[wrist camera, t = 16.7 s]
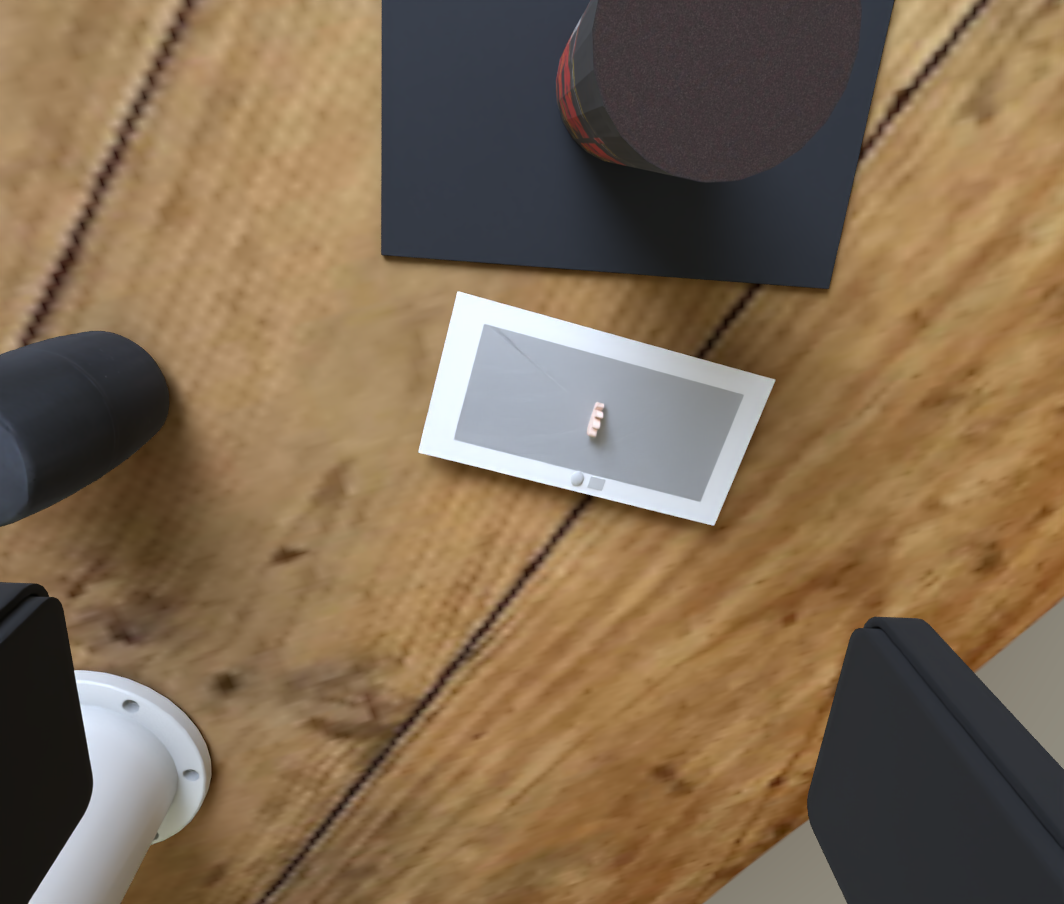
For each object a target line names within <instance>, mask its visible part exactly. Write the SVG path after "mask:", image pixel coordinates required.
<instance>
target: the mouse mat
mask: <svg viewBox="0 0 1064 904" xmlns="http://www.w3.org/2000/svg"><path fill="white" fill-rule="evenodd" d="M589 2H590V0H382V192H381V254H382V255H387V256H400V257H414V258H427V259H440V260H453V261H466V262H480V263H493V264H506V265H519V266H532V267H545V268H559V269H572V270H585V271H598V272H611V273H625V274H638V275H651V276H664V277H677V278H690V279H704V280H717V281H730V282H743V283H756V284H770V285H783V286H796V287H809V288H822V289H829V286H830V281H831V277H832V273H833V268H834V264H835V259H836V255H837V251H838V246H839V242H840V237H841V233H842V229H843V224H844V220H845V215H846V211H847V207H848V202H849V198H850V193H851V189H852V185H853V180H854V176H855V171H856V167H857V163H858V158H859V154H860V149H861V145H862V141H863V136H864V132H865V127H866V123H867V119H868V114H869V110H870V105H871V101H872V97H873V92H874V88H875V83H876V79H877V75H878V70H879V66H880V61H881V57H882V52H883V48H884V44H885V39H886V35H887V30H888V26H889V22H890V17H891V13H892V8H893V4H894V0H861V7H862V16H861V28H860V39H859V50H858V53H857V57H856V60H855V63H854V66H853V69H852V72H851V75H850V78H849V81H848V84H847V88H846V90H845V91H844V93H843V95H842V96H841V98H840V100H839V102H838V103H837V105H836V107H835V108H834V110H833V112H832V114H831V115H830V117H829V119H828V120H827V122H826V123H825V124H824V125H823V126H822V127H821V128H820V130H819V131H818V132H817V133H816V134H815V135H814V136H813V137H812V138H811V139H810V140H809V141H808V142H807V143H806V144H805V146H804V147H803V148H802V149H801V150H799V151H798V152H796V153H795V154H793V155H792V156H790V157H789V158H787V159H786V160H784V161H783V162H781V163H780V164H778V165H776V166H775V167H773V168H772V169H770V170H767V171H764V172H761V173H759V174H756V175H753V176H750V177H747V178H744V179H742V180H739V181H725V182H711V183H704V182H700V181H695V180H690V179H686V178H681V177H676V176H671V175H667V174H662V173H657V172H653V171H648V170H643V169H639V168H634V167H629V166H625V165H620V164H615V163H611V162H606V161H602V160H600V159H599V158H597V157H595V156H593V155H591V154H589V153H587V152H586V151H585V150H584V149H583V148H582V147H581V146H580V145H579V144H578V143H577V142H576V141H575V140H574V139H573V138H572V136H571V135H570V133H569V131H568V130H567V128H566V126H565V125H564V123H563V121H562V118H561V114H560V111H559V108H558V104H557V95H556V77H557V72H558V67H559V61H560V58H561V56H562V54H563V52H564V49H565V47H566V45H567V43H568V40H569V39H570V37H571V35H572V33H573V31H574V29H575V28H576V26H577V24H578V22H579V20H580V19H581V17H582V15H583V13H584V11H585V9H586V8H587V6H588V4H589Z"/></svg>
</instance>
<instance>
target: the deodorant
mask: <svg viewBox="0 0 1064 904" xmlns="http://www.w3.org/2000/svg"><path fill="white" fill-rule="evenodd" d="M861 16H862V7H861V0H590V2H589V4H588V6H587V8H586V9H585V11H584V13H583V15H582V17H581V19H580V20H579V22H578V24H577V26H576V28H575V29H574V31H573V33H572V35H571V37H570V39H569V40H568V43H567V45H566V47H565V49H564V52H563V54H562V56H561V58H560V61H559V67H558V72H557V77H556V95H557V104H558V108H559V111H560V114H561V118H562V121H563V123H564V125H565V126H566V128H567V130H568V131H569V133H570V135H571V136H572V138H573V139H574V140H575V141H576V142H577V143H578V144H579V145H580V146H581V147H582V148H583V149H584V150H585V151H586V152H587V153H589V154H591V155H593V156H595V157H597V158H599V159H600V160H602V161H606V162H611V163H615V164H620V165H625V166H629V167H634V168H639V169H643V170H648V171H653V172H657V173H662V174H667V175H671V176H676V177H681V178H686V179H690V180H695V181H700V182H704V183H711V182H725V181H739V180H742V179H744V178H747V177H750V176H753V175H756V174H759V173H761V172H764V171H767V170H770V169H772V168H773V167H775V166H776V165H778V164H780V163H781V162H783V161H784V160H786V159H787V158H789V157H790V156H792V155H793V154H795V153H796V152H798V151H799V150H801V149H802V148H803V147H804V146H805V144H806V143H807V142H808V141H809V140H810V139H811V138H812V137H813V136H814V135H815V134H816V133H817V132H818V131H819V130H820V128H821V127H822V126H823V125H824V124H825V123H826V122H827V120H828V119H829V117H830V115H831V114H832V112H833V110H834V108H835V107H836V105H837V103H838V102H839V100H840V98H841V96H842V95H843V93H844V91H845V90H846V88H847V84H848V81H849V78H850V75H851V72H852V69H853V66H854V63H855V60H856V57H857V53H858V50H859V39H860V28H861Z"/></svg>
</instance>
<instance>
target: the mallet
mask: <svg viewBox="0 0 1064 904" xmlns="http://www.w3.org/2000/svg"><path fill="white" fill-rule="evenodd" d="M168 410H169V392H168V387H167V384H166V381H165V378H164V376H163V374H162V372H161V370H160V368H159V367H158V365H157V364H156V362H155V361H154V360H153V359H152V357H151V356H150V355H149V354H148V353H147V352H146V351H145V350H144V349H142V348H141V347H140V346H139V345H137V344H136V343H134V342H132V341H131V340H129V339H127V338H125V337H123V336H121V335H118V334H115V333H110V332H105V331H89V332H82V333H77V334H71V335H66V336H59V337H56V338H51V339H47V340H44V341H40V342H37V343H33V344H30V345H27V346H24V347H21V348H18V349H16V350H12V351H9V352H6V353H3V354H1V355H0V526H5V525H8V524H11V523H14V522H17V521H19V520H21V519H23V518H25V517H28V516H30V515H32V514H34V513H37V512H39V511H41V510H43V509H45V508H48V507H50V506H52V505H53V504H55V503H57V502H59V501H61V500H63V499H65V498H67V497H69V496H70V495H72V494H74V493H76V492H77V491H79V490H80V489H82V488H84V487H86V486H87V485H89V484H91V483H92V482H94V481H96V480H98V479H99V478H101V477H102V476H104V475H105V474H106V473H108V472H109V471H111V470H112V469H114V468H115V467H117V466H118V465H120V464H121V463H122V462H123V461H125V460H126V459H128V458H129V457H130V456H131V455H133V454H134V453H135V452H136V451H137V450H139V449H140V448H141V447H142V446H143V445H144V444H146V443H147V442H148V441H149V440H150V439H151V438H152V437H153V436H154V435H155V434H156V433H157V432H158V431H159V430H160V429H161V428H162V426H163V425H164V423H165V421H166V418H167V415H168Z"/></svg>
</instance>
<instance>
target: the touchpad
mask: <svg viewBox="0 0 1064 904" xmlns="http://www.w3.org/2000/svg"><path fill="white" fill-rule="evenodd" d="M774 382H775V379H771V378H768V377H764V376H761V375H757V374H753V373H750V372H746V371H743V370H739V369H735V368H732V367H728V366H725V365H721V364H717V363H714V362H710V361H707V360H703V359H699V358H696V357H692V356H689V355H685V354H681V353H678V352H674V351H671V350H667V349H663V348H660V347H656V346H653V345H649V344H645V343H642V342H638V341H635V340H631V339H627V338H624V337H620V336H617V335H613V334H610V333H606V332H602V331H599V330H595V329H592V328H588V327H584V326H581V325H577V324H574V323H570V322H566V321H563V320H559V319H556V318H552V317H548V316H545V315H541V314H538V313H534V312H530V311H527V310H523V309H520V308H516V307H512V306H509V305H505V304H502V303H498V302H494V301H491V300H487V299H484V298H480V297H476V296H473V295H469V294H466V293H462V292H457V296H456V300H455V304H454V308H453V312H452V317H451V321H450V325H449V329H448V333H447V337H446V341H445V345H444V349H443V353H442V357H441V361H440V365H439V370H438V374H437V378H436V382H435V386H434V390H433V394H432V398H431V402H430V406H429V410H428V414H427V418H426V422H425V427H424V431H423V435H422V439H421V443H420V447H419V451H418V452H419V453H423V454H427V455H431V456H435V457H439V458H443V459H447V460H451V461H455V462H459V463H463V464H467V465H471V466H475V467H479V468H483V469H487V470H491V471H495V472H499V473H503V474H508V475H512V476H516V477H520V478H524V479H528V480H532V481H536V482H540V483H544V484H548V485H552V486H556V487H560V488H564V489H568V490H572V491H576V492H580V493H584V494H588V495H592V496H596V497H600V498H604V499H608V500H612V501H616V502H620V503H624V504H628V505H632V506H636V507H640V508H644V509H648V510H652V511H656V512H660V513H665V514H669V515H673V516H677V517H681V518H685V519H689V520H693V521H697V522H701V523H705V524H709V525H713V526H714V525H715V522H716V520H717V517H718V515H719V513H720V510H721V508H722V506H723V503H724V501H725V499H726V496H727V494H728V491H729V489H730V487H731V484H732V482H733V480H734V477H735V475H736V472H737V470H738V468H739V465H740V463H741V461H742V458H743V456H744V453H745V451H746V449H747V446H748V444H749V442H750V439H751V437H752V435H753V432H754V430H755V427H756V425H757V423H758V420H759V418H760V416H761V413H762V411H763V408H764V406H765V404H766V401H767V399H768V397H769V394H770V392H771V390H772V387H773V385H774Z"/></svg>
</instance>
